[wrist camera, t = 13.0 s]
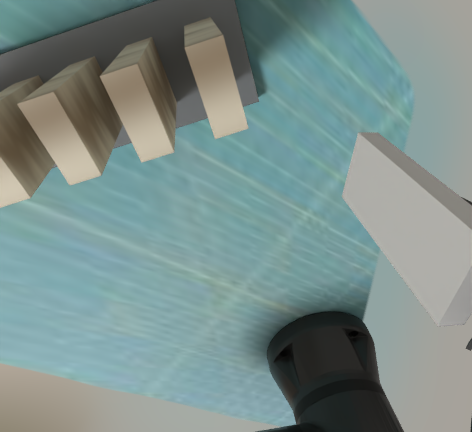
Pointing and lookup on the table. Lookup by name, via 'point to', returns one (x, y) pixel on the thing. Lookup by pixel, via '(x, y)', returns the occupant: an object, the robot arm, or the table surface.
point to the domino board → (134, 30)
